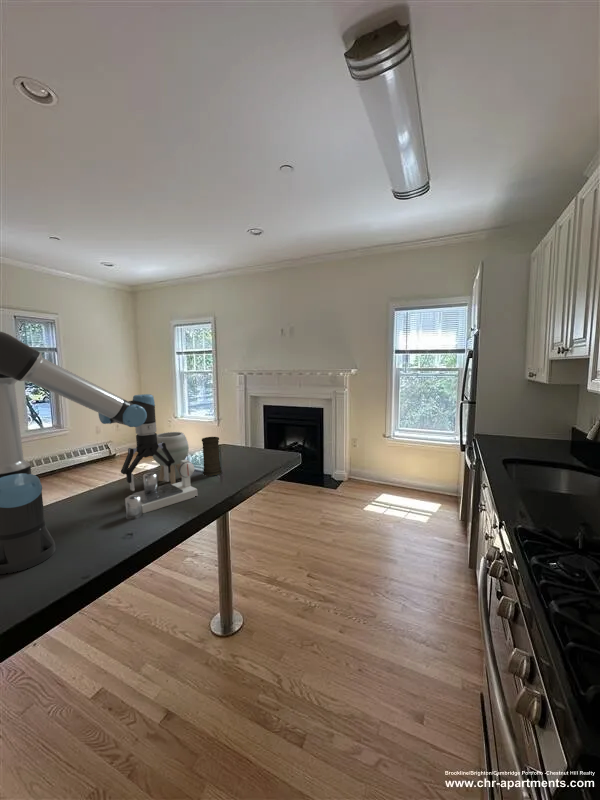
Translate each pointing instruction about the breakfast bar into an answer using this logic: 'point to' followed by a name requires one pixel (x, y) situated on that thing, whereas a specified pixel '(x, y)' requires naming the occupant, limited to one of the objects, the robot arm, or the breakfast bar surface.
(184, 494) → the scale
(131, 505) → the spacer
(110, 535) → the breakfast bar surface
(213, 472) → the container
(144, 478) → the spacer
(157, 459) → the planter
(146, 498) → the pan
